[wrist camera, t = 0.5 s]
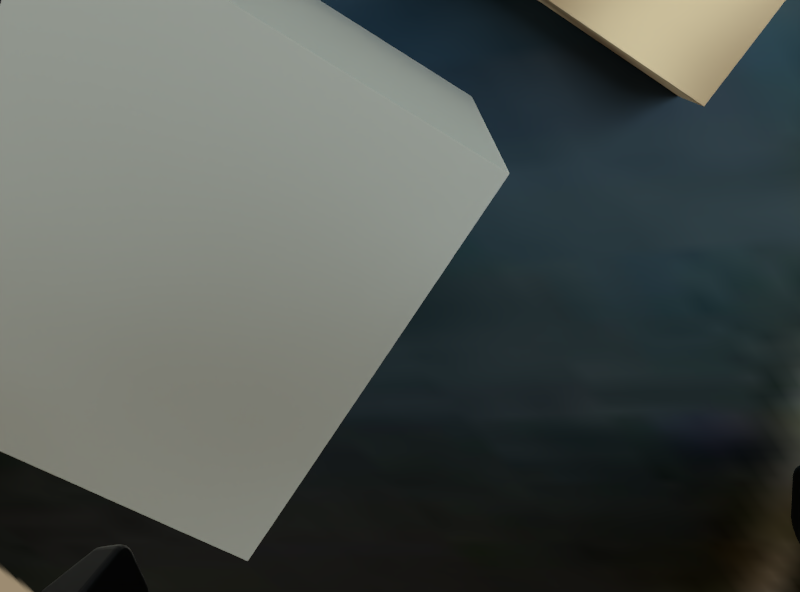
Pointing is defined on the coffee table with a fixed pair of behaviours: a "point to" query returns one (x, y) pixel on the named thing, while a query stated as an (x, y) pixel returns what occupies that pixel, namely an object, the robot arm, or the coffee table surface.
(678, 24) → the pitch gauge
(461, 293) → the coffee table surface
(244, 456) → the block
